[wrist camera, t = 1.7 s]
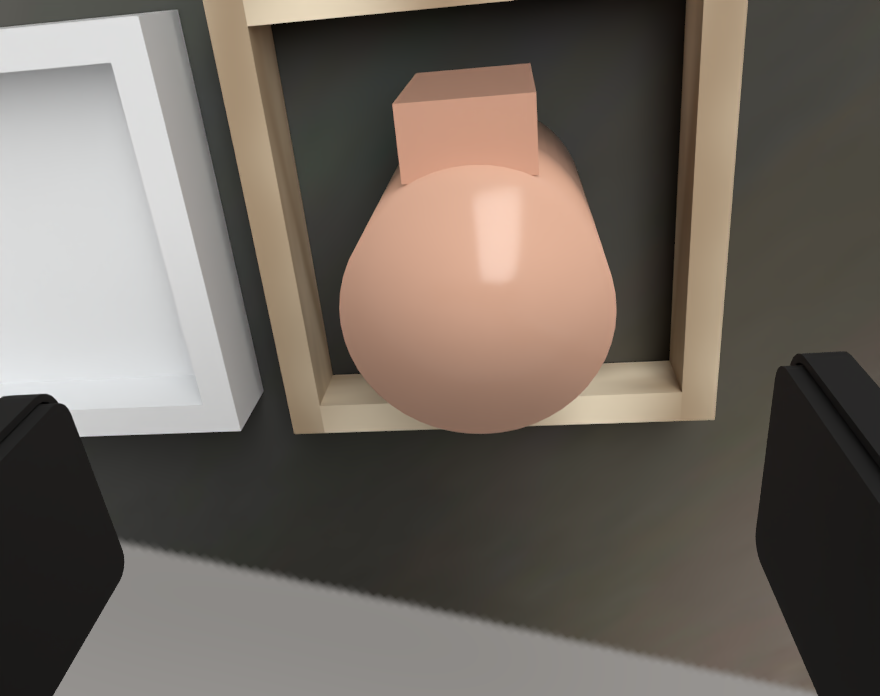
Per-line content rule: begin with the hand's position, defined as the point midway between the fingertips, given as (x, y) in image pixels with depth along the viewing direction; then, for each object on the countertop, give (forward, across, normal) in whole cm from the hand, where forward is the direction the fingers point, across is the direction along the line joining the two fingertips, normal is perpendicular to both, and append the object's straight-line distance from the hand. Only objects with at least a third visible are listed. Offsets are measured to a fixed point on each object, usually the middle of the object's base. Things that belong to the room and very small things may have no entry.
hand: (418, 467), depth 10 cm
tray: (+14, +13, +1) cm, 19 cm away
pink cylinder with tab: (+14, -1, +1) cm, 14 cm away
